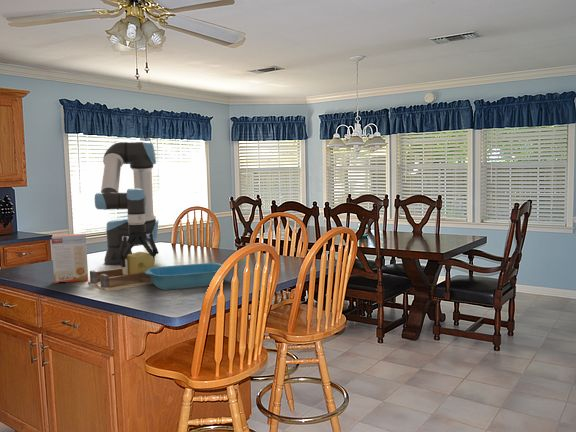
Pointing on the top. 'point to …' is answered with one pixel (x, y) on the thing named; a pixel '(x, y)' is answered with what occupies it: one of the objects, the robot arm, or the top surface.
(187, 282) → the casserole dish
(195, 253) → the top surface
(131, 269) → the cheese
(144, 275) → the slot board
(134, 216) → the robot arm
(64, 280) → the cracker box
